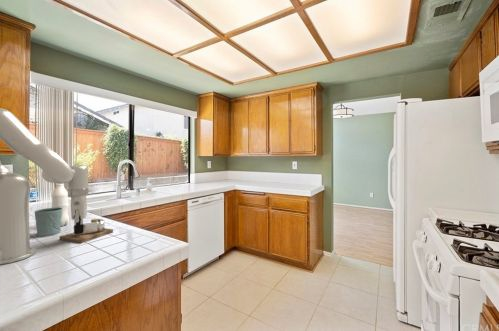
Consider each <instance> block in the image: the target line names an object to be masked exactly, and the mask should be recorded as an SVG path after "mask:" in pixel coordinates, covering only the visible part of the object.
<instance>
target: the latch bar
mask: <svg viewBox="0 0 499 331" xmlns="http://www.w3.org/2000/svg"><path fill="white" fill-rule="evenodd" d="M98 219H99V220H98V221H96V222H92V223H91V222H83V233H81V234H84V233H91V232H100V231H104V230H105V228H106V227H105V220H104V219H103V220H102V218H98ZM73 229H74V225H73ZM74 235H77V234H74Z"/></svg>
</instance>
